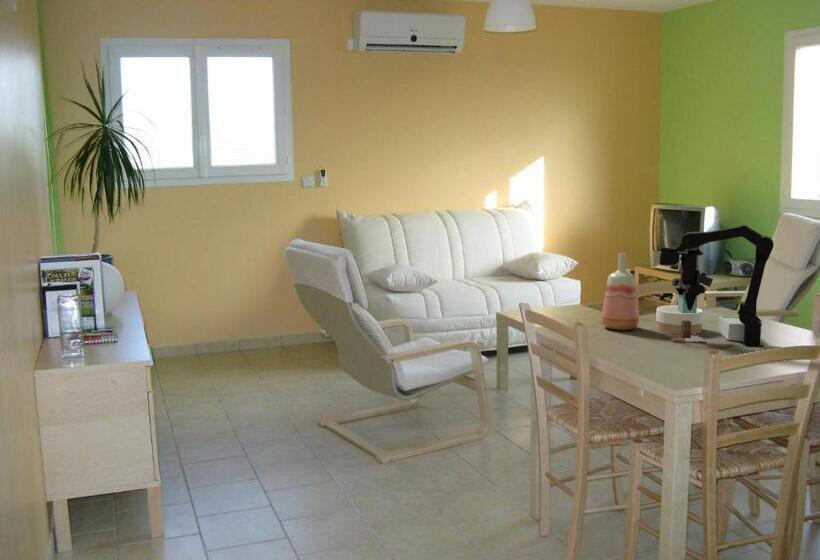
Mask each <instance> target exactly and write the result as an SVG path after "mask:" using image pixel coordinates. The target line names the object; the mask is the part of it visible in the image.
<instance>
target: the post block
mask: <svg viewBox="0 0 820 560" xmlns="http://www.w3.org/2000/svg"><path fill="white" fill-rule="evenodd" d="M693 336H700V335H699V334H693ZM665 338H666V339H667V340H669V341H671V342H672V343H683V342H682V341H685V338H691V321H689V320H682V330H681V335H677V334H666V335H665ZM704 340H706V339H705V338H704Z"/></svg>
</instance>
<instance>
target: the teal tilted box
mask: <svg viewBox="0 0 820 560" xmlns="http://www.w3.org/2000/svg"><path fill="white" fill-rule="evenodd" d="M677 296H678V297H677V306H678V311H679V312H681V313H697V308H698V296H697V297H696V299H695V301H694V304H693V307H692V310H688V307H687V304H686V301H685V297H684V295H678V294H677Z"/></svg>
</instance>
